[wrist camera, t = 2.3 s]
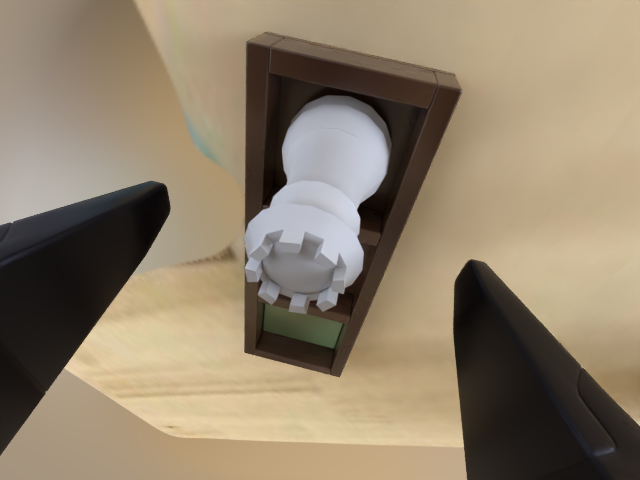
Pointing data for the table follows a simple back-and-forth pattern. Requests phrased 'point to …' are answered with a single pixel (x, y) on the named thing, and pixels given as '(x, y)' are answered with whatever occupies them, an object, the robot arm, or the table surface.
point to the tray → (375, 212)
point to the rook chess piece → (319, 204)
